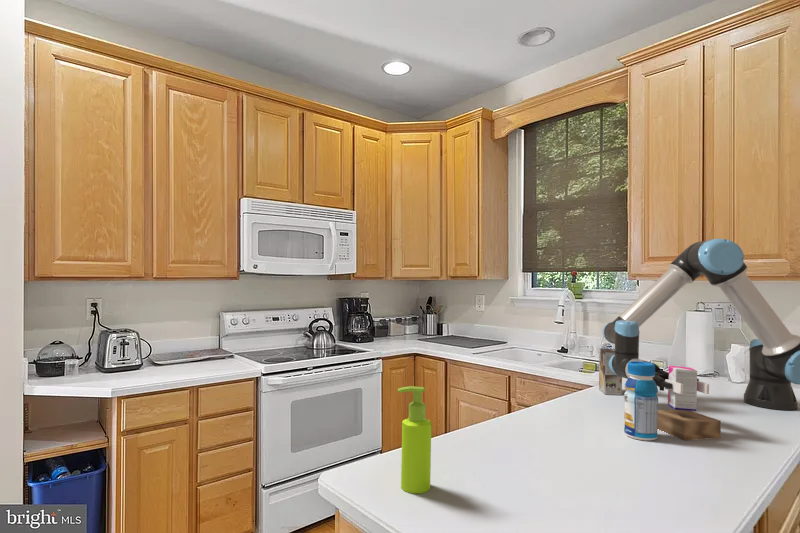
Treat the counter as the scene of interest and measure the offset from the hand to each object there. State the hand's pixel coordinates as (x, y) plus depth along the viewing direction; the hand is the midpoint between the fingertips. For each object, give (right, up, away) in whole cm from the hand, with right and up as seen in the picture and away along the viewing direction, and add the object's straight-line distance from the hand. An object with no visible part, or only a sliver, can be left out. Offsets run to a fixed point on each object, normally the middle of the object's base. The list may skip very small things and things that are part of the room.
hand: (694, 389), depth 133 cm
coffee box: (-1, -14, +52) cm, 54 cm away
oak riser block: (0, -14, +4) cm, 14 cm away
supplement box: (-1, -7, +5) cm, 8 cm away
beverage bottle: (-15, -13, 0) cm, 20 cm away
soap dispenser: (-78, -11, -36) cm, 87 cm away
